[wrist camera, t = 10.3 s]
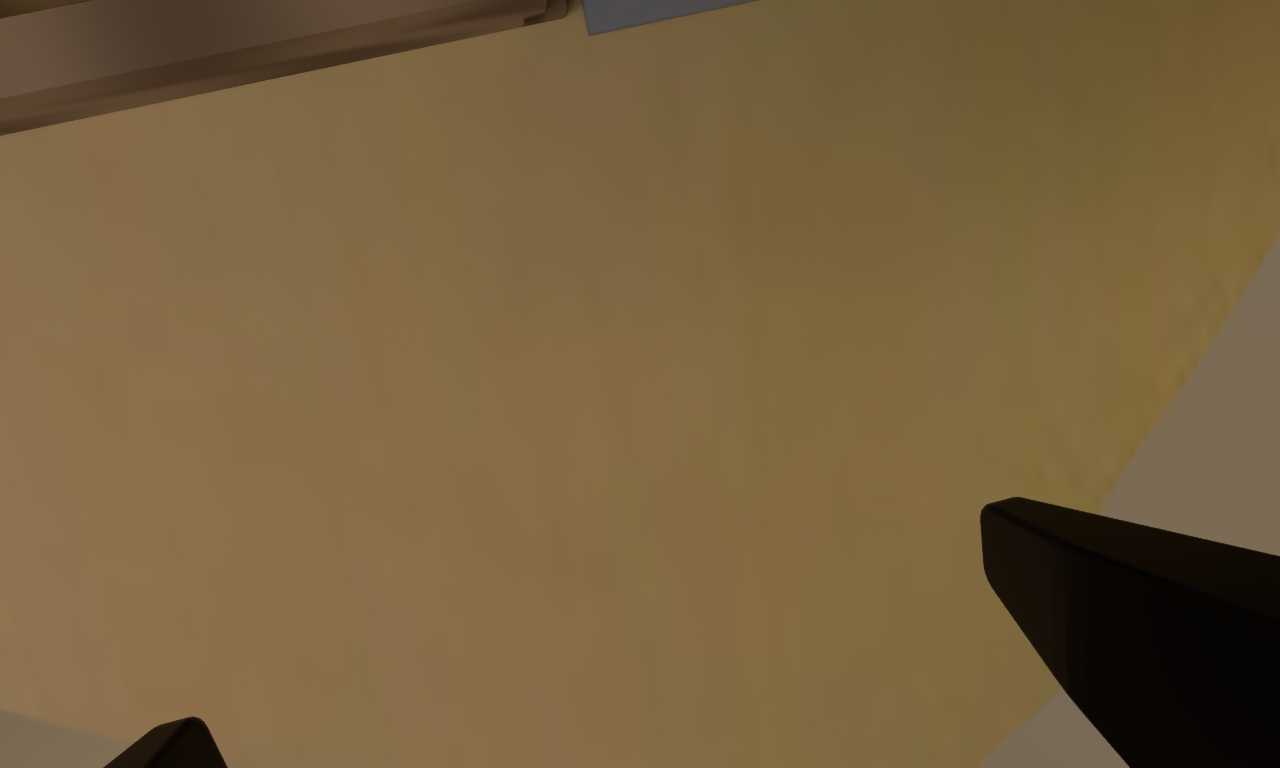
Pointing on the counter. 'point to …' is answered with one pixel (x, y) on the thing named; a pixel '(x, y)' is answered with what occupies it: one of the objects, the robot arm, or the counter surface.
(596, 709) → the counter surface
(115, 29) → the rack
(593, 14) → the rubber mat
